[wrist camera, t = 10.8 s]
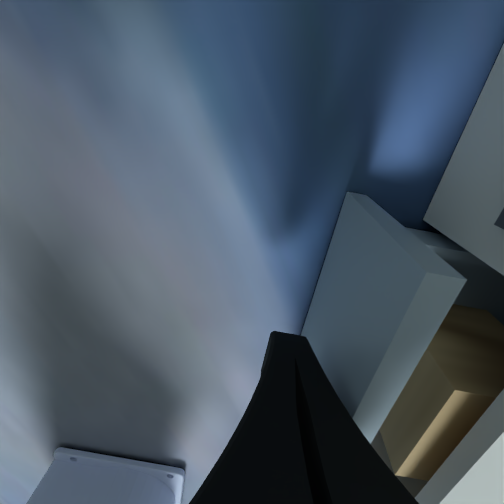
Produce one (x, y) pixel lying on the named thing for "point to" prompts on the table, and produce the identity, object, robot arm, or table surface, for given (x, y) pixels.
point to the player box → (496, 256)
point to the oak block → (445, 392)
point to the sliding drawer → (387, 304)
